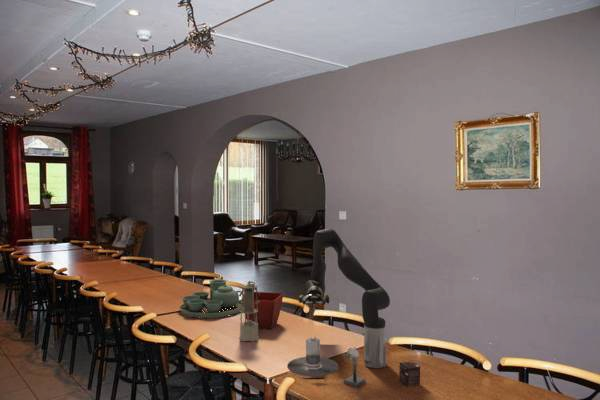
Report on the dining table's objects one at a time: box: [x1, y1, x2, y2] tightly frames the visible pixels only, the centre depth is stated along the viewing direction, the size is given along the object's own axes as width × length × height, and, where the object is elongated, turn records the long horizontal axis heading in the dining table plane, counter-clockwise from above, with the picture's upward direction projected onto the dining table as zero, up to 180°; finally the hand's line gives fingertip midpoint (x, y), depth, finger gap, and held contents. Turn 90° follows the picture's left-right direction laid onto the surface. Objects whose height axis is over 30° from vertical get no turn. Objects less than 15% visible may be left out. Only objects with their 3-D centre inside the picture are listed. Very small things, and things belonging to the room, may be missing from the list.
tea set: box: [179, 278, 244, 319], centre depth 291 cm, size 40×40×16 cm
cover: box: [305, 336, 321, 368], centre depth 196 cm, size 6×6×12 cm
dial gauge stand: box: [341, 346, 366, 388], centre depth 183 cm, size 9×6×14 cm, turn 50°
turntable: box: [287, 356, 340, 380], centre depth 196 cm, size 22×22×1 cm
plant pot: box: [243, 291, 284, 330], centre depth 259 cm, size 19×19×17 cm
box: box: [398, 360, 421, 387], centre depth 183 cm, size 6×6×7 cm
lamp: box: [238, 280, 260, 342], centre depth 234 cm, size 10×13×30 cm
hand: (313, 302), depth 210 cm, fingers open, 8 cm apart
